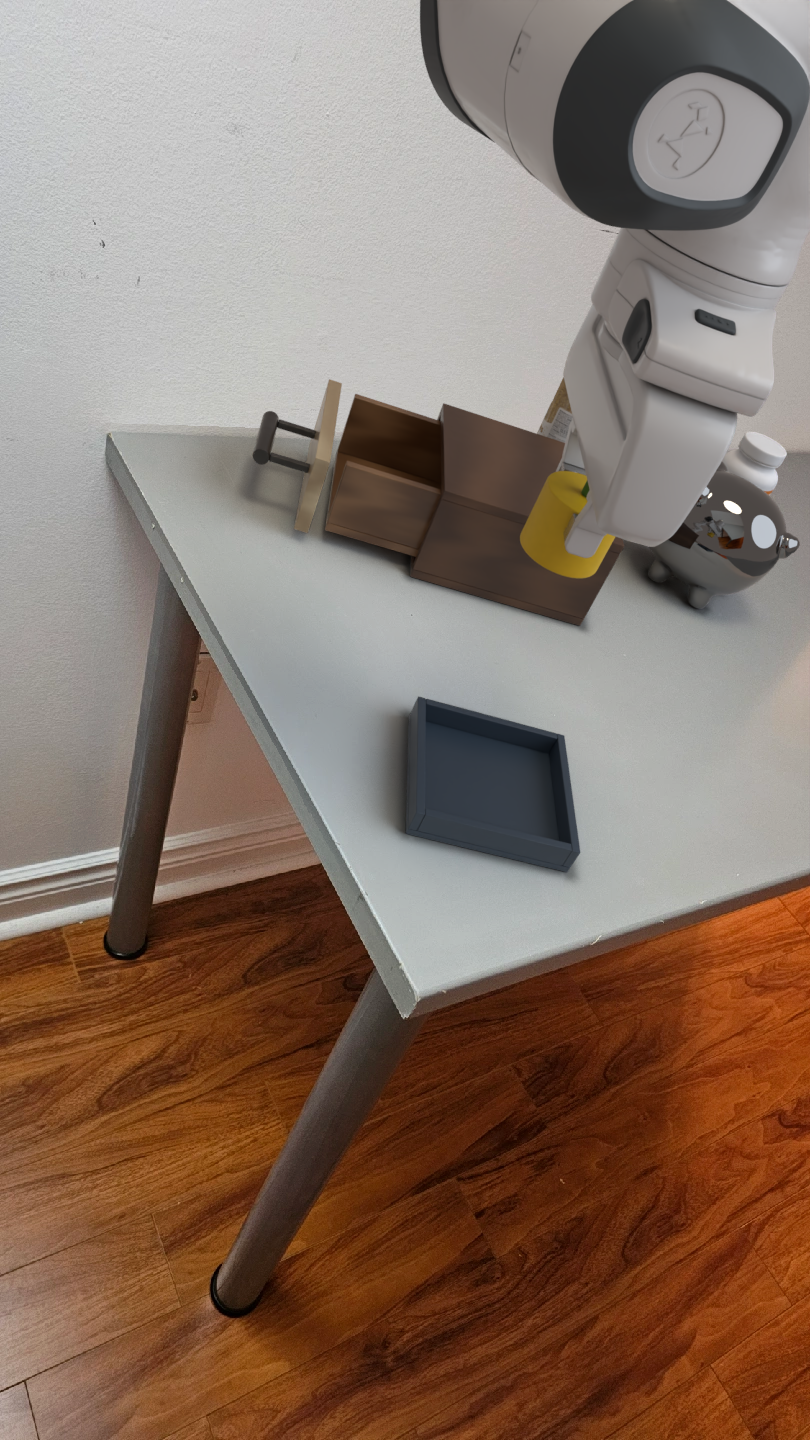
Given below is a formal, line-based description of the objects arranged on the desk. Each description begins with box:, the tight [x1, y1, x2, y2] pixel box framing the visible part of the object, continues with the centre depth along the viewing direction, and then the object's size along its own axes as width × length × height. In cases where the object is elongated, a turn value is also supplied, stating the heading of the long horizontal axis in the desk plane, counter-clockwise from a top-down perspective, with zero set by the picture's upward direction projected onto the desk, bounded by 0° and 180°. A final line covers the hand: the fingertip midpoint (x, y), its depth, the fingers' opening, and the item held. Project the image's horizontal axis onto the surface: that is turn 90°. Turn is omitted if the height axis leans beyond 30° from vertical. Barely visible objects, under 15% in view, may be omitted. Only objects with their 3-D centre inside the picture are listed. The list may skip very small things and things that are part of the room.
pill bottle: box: [722, 430, 788, 497], centre depth 110 cm, size 6×6×11 cm
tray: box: [405, 695, 581, 873], centre depth 72 cm, size 11×11×2 cm
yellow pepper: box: [520, 471, 615, 578], centre depth 63 cm, size 5×5×5 cm
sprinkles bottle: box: [536, 376, 573, 443], centre depth 105 cm, size 5×5×14 cm
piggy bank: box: [647, 461, 801, 610], centre depth 100 cm, size 11×15×12 cm
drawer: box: [252, 378, 442, 557], centre depth 91 cm, size 19×14×7 cm
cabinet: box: [409, 402, 625, 626], centre depth 93 cm, size 16×16×9 cm
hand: (569, 519), depth 64 cm, fingers closed on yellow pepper, 5 cm apart
